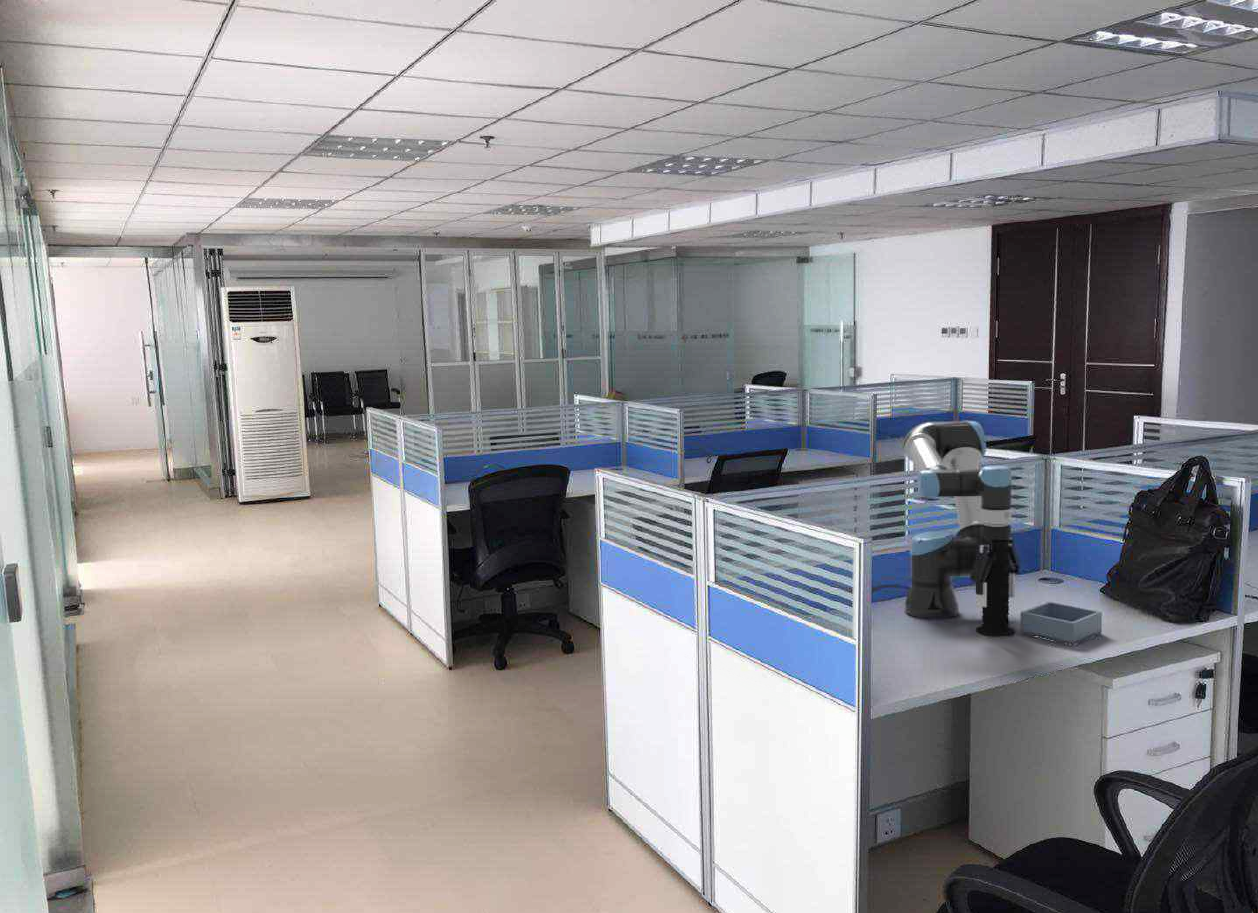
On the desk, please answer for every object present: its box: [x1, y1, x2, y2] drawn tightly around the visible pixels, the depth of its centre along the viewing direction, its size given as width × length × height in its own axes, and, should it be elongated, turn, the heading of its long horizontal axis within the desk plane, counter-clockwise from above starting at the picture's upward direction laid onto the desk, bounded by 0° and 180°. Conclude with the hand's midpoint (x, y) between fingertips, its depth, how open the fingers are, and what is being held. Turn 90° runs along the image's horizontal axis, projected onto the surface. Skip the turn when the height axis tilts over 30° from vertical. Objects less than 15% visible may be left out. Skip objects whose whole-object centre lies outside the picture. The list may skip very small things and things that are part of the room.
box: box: [1019, 601, 1103, 646], centre depth 258 cm, size 15×15×6 cm
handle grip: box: [975, 539, 1016, 638], centre depth 261 cm, size 10×26×10 cm
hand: (995, 601), depth 262 cm, fingers open, 13 cm apart
